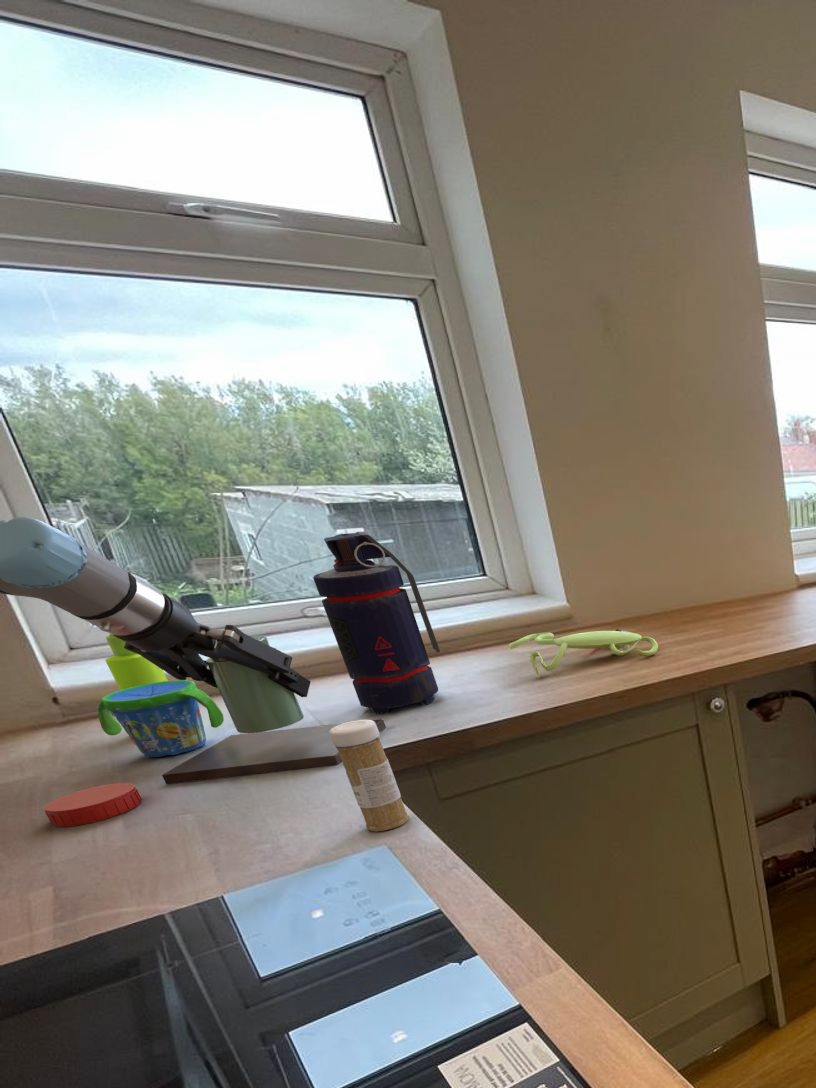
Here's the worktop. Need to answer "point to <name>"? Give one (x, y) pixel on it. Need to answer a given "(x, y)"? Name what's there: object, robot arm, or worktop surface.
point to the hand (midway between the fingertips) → (276, 691)
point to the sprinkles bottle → (369, 774)
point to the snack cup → (160, 716)
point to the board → (262, 754)
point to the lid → (92, 804)
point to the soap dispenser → (131, 666)
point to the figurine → (587, 644)
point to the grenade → (376, 624)
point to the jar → (254, 696)
